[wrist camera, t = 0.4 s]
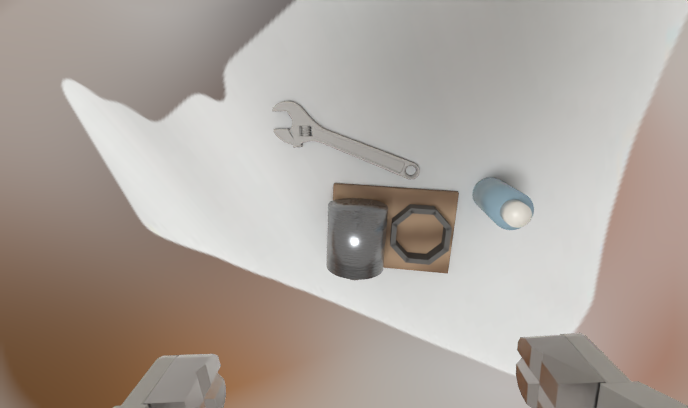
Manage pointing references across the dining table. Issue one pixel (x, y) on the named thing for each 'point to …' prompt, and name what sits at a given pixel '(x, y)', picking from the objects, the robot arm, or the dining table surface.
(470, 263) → the dining table surface
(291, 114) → the adjustable wrench
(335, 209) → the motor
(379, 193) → the base plate
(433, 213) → the collar
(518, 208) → the blue plastic bottle
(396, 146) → the dining table surface
